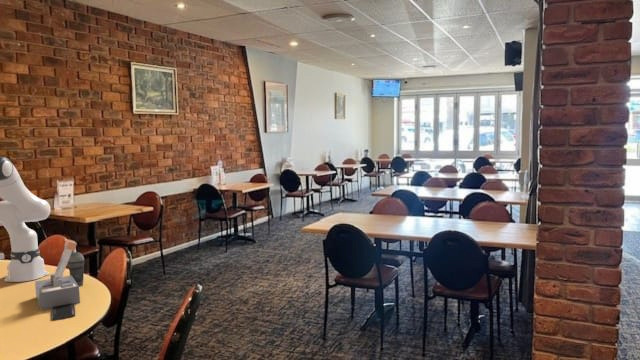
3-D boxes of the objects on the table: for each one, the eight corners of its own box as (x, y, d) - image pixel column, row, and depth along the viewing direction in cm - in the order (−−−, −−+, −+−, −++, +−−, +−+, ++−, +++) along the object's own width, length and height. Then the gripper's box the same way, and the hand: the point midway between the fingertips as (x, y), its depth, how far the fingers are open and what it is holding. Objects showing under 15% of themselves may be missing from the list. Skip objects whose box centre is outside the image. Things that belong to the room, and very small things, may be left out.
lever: (50, 279, 200) (66, 238, 202) (58, 281, 201) (74, 240, 204) (52, 284, 193) (69, 242, 196) (60, 285, 195) (77, 244, 198)
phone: (74, 303, 192) (75, 314, 179) (74, 305, 192) (75, 317, 179) (52, 306, 188) (51, 319, 175) (52, 309, 188) (51, 321, 175)
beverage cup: (79, 288, 213) (75, 244, 212) (65, 287, 215) (61, 244, 213) (89, 283, 221) (86, 241, 219) (76, 282, 222) (73, 241, 220)
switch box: (36, 297, 202) (34, 274, 201) (72, 290, 210) (71, 268, 209) (40, 310, 186) (38, 286, 185) (80, 302, 194) (78, 279, 193)
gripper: (-42, 260, 170) (4, 253, 178) (-40, 248, 186) (2, 243, 194) (-40, 277, 170) (6, 269, 178) (-38, 264, 187) (4, 258, 195)
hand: (4, 255), depth 186 cm, fingers closed
